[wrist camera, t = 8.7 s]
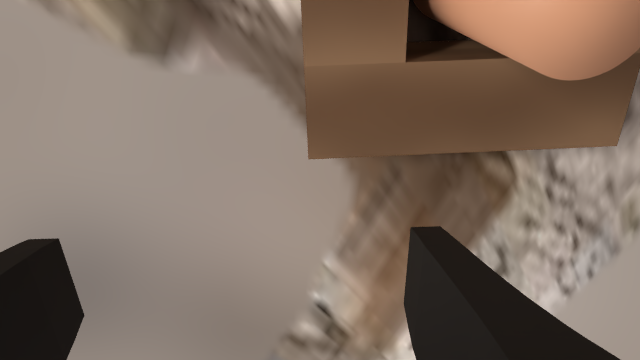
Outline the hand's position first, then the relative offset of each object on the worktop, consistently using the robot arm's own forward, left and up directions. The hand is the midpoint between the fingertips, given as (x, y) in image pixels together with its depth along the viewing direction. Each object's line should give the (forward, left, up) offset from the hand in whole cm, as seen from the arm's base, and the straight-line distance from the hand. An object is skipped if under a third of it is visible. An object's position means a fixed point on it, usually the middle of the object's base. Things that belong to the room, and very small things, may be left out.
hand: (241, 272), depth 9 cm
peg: (+5, -7, -10) cm, 13 cm away
